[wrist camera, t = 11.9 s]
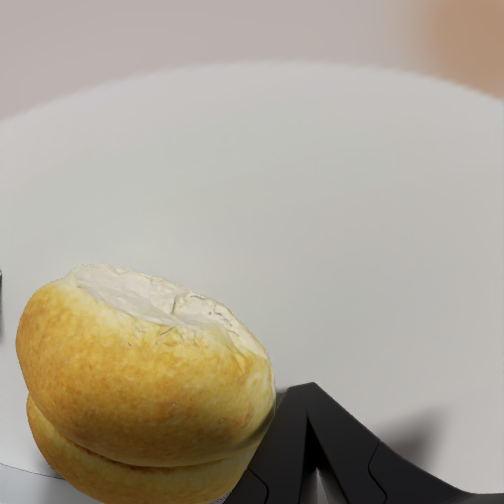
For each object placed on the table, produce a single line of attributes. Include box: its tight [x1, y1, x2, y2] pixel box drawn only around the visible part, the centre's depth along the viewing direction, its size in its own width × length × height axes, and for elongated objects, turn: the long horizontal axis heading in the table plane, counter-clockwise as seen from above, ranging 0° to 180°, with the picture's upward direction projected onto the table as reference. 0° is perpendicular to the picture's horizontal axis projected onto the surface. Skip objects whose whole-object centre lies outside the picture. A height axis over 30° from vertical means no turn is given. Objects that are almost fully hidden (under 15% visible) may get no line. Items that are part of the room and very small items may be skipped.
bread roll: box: [16, 264, 276, 504], centre depth 8 cm, size 8×9×4 cm
